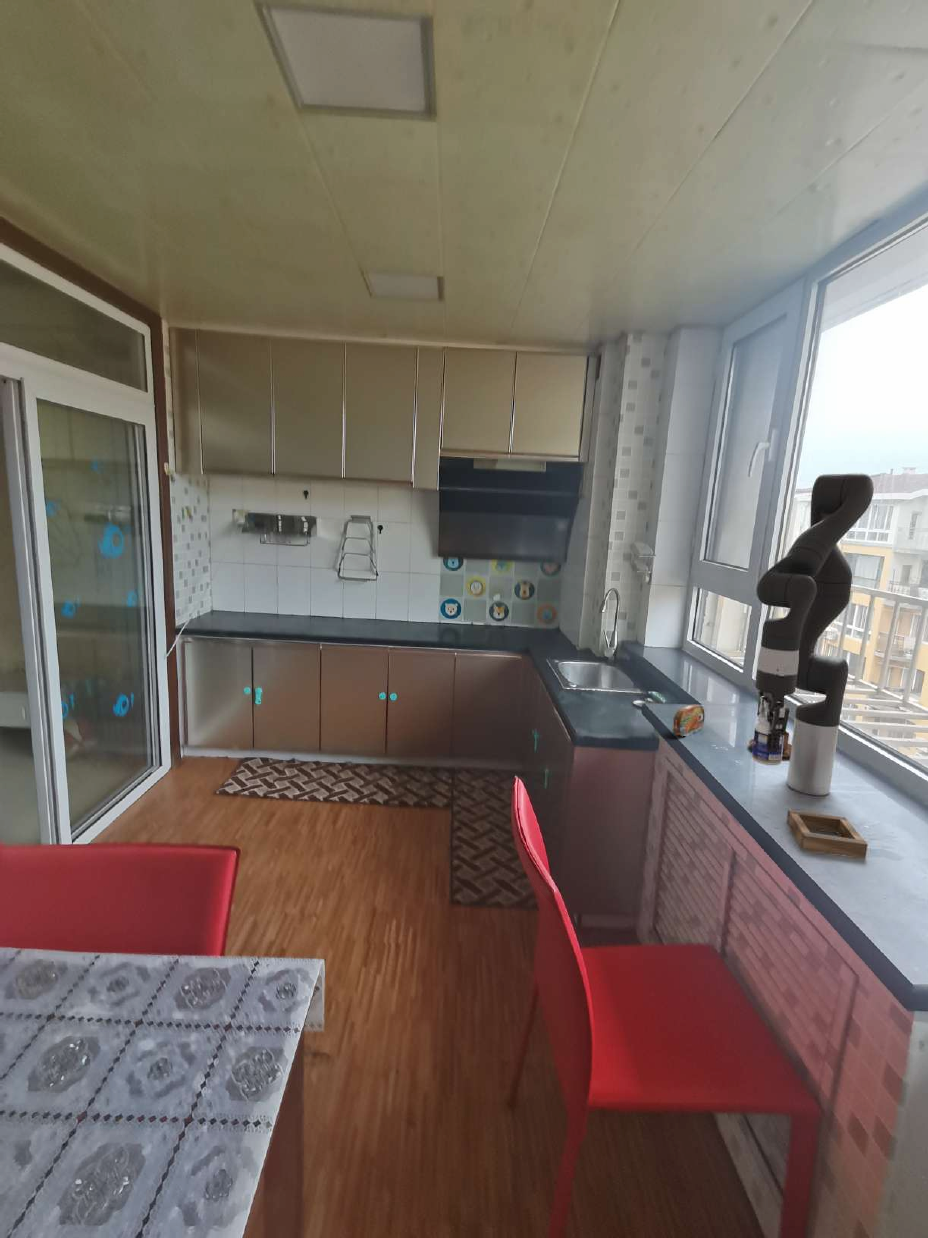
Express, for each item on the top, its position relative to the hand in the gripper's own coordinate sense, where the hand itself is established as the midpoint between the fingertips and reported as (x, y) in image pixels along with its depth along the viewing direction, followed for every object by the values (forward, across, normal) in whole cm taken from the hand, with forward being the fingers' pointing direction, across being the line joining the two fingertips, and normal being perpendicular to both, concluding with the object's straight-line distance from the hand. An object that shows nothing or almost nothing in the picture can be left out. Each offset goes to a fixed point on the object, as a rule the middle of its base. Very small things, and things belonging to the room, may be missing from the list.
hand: (768, 745), depth 126 cm
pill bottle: (+4, 0, 0) cm, 4 cm away
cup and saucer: (+18, -44, +14) cm, 49 cm away
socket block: (+17, +6, +11) cm, 21 cm away
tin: (+18, -53, -8) cm, 56 cm away
